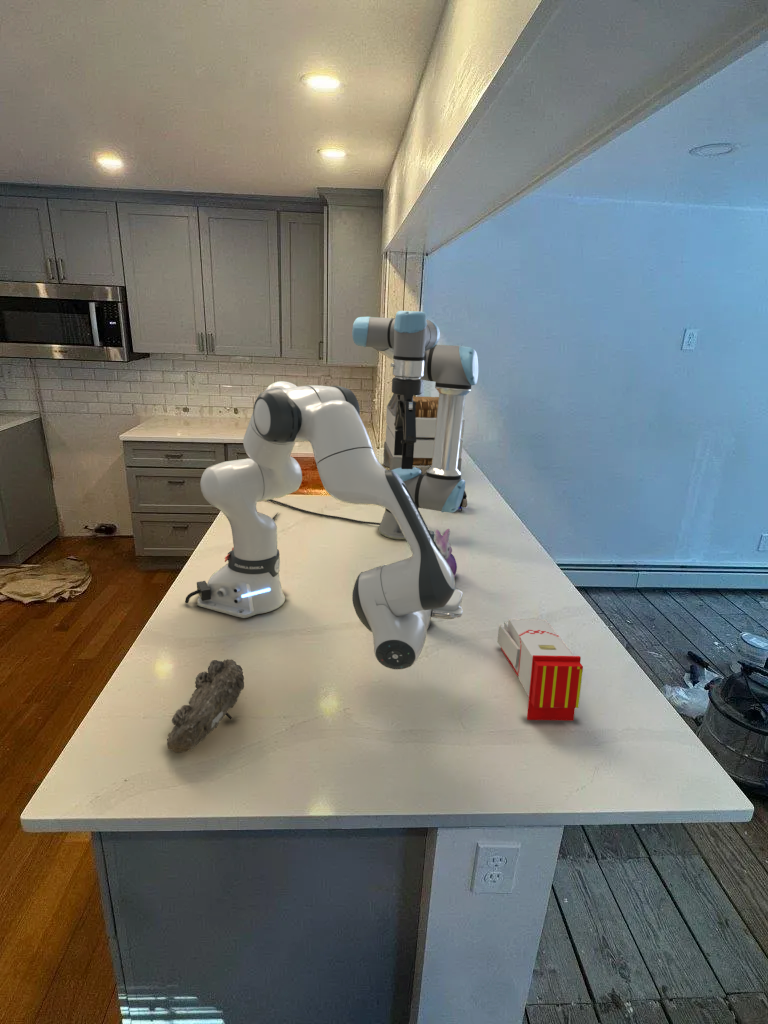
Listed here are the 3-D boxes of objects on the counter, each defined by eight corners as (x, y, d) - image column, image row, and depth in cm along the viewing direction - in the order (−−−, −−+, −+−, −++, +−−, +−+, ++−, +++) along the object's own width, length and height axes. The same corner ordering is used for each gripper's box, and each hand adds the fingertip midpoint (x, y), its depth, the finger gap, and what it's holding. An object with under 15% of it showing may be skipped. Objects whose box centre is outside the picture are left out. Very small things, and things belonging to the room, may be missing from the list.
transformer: (382, 463, 289) (386, 382, 275) (445, 464, 293) (451, 384, 279) (390, 482, 257) (394, 392, 243) (460, 483, 261) (468, 394, 247)
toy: (543, 604, 136) (592, 662, 106) (538, 656, 138) (584, 727, 109) (493, 603, 135) (528, 661, 106) (489, 655, 138) (522, 726, 109)
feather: (285, 507, 224) (287, 503, 224) (267, 531, 198) (270, 526, 197) (281, 504, 224) (284, 500, 223) (263, 528, 197) (265, 524, 197)
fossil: (192, 660, 117) (244, 628, 112) (224, 691, 120) (276, 661, 115) (142, 746, 98) (202, 712, 93) (182, 779, 101) (242, 748, 96)
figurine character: (467, 516, 223) (461, 500, 237) (469, 499, 220) (463, 483, 233) (450, 516, 223) (446, 499, 236) (452, 498, 220) (447, 483, 233)
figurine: (438, 587, 162) (442, 538, 157) (419, 572, 171) (423, 526, 166) (465, 581, 166) (470, 534, 161) (446, 567, 175) (450, 522, 170)
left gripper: (463, 604, 110) (467, 574, 123) (360, 590, 113) (374, 562, 126) (459, 632, 112) (464, 599, 125) (359, 618, 115) (373, 587, 128)
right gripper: (386, 371, 150) (382, 449, 157) (399, 383, 127) (394, 475, 134) (414, 372, 151) (409, 450, 158) (432, 384, 128) (426, 475, 135)
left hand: (418, 580), depth 125 cm, fingers open, 8 cm apart
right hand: (402, 461), depth 146 cm, fingers open, 13 cm apart
